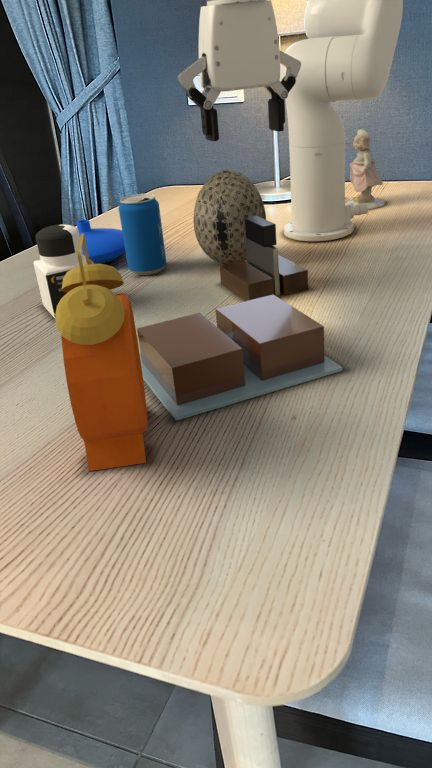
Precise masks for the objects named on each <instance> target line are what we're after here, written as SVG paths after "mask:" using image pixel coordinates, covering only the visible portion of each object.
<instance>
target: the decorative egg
mask: <svg viewBox="0 0 432 768" xmlns="http://www.w3.org/2000/svg"><path fill="white" fill-rule="evenodd" d="M252 216H258V217H261V218H263V219H265V220H267V213H266V209H265V204H264V201H263V198H262V196H261V194H260V191H259V189H258V188H257V187H256V185H255V184H254V182H252V180H251V179H249V177H247V176H246V175H244V173H241V172H238V171H236V170H232V169H224V170H221V171H218V172H216V173H215V174H212V176H210V177H209V178H208V179H207V180H206V181H205V183H203V185H202V187H201V188H200V190H199V191H198V194H197V196H196V199H195V203H194V207H193V230H194V234H195V237H196V240H197V243H198V244H199V246H200V248H201V250H202V251H203V252H204V254H205V255H206V256H207V257H208V258H210V259H211V260H213V261H215V262H216V263H219V264H221V265H226V264H230V263H234V262H239V261H245V262H247V254H246V240H245V235H246V231H245V218H247V217H252Z"/></svg>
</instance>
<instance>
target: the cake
mask: <svg viewBox="0 0 432 768" xmlns="http://www.w3.org/2000/svg"><path fill="white" fill-rule="evenodd" d="M214 310H215V320H216V325H215V324H213V322H212V321H210V320H209V319H208V318H207V317H206V316H205V315H203V314H202V313H201V312H198V313H193V314H189V315H186V316H181V317H177V318H172V319H169V320H165V321H161V322H156V323H153V324H148V325H145V326H141V327H137V328H136V334H137V340H138V346H139V353H140V360H141V367H142V374H143V382H144V383H145V384H146V385H147V386H148V387H149V389H150V390H151V391H152V392H153V394H154V395H155V396H156V398H157V399H158V400H159V402H160V403H161V404H162V405H163V407H164V408H165V409H166V411H167V412H168V413H169V414H170V416H171V417H172V418H173V420H174V421H175V422H177V421H181V420H184V419H188V418H190V417H195V416H198V415H200V414H203V413H207V412H210V411H214V410H217V409H220V408H223V407H227V406H230V405H234V404H236V403H241V402H244V401H246V400H250V399H254V398H256V397H260V396H264V395H266V394H267V395H268V394H270V393H273V392H276V391H279V390H283V389H287V388H290V387H293V386H296V385H300V384H303V383H307V382H309V381H313V380H316V379H320V378H324V377H326V376H327V377H328V376H330V375H333V374H336V373H341V372H342V371H343V366H341V365H340V364H339V363H337V362H335V361H334V360H333V359H331V358H330V357H328V356H327V355H326V354H325V326H324V325H323V324H321V323H320V322H318V321H317V320H315V319H313V318H312V317H310V316H308V315H307V314H306V313H303V312H302V311H300V310H299V309H298V308H296V307H294V306H292V305H291V304H290V303H288V302H286V301H285V300H283V299H281V298H280V297H279V296H275V295H269V296H265V297H261V298H257V299H253V300H249V301H242V302H237V303H234V304H229V305H226V306H221V307H217V308H215V309H214Z"/></svg>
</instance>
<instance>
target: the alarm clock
mask: <svg viewBox="0 0 432 768" xmlns="http://www.w3.org/2000/svg"><path fill="white" fill-rule="evenodd" d="M82 242H83V248H84V253H85V258H86V262H87V265H83V263H82V257H81V248H82ZM77 255H78V261H79V266H78V267H76V268H74V269H72V270H70V271H68V272H67V273H66V275H65V276H64V278H63V283H62V291H64V292H66V293H67V294H66V295H65V296H63V297H62V298H61V300H60V302H59V303H58V305H57V309H56V318H54V321H55V325H56V329H57V331H58V332H59V333H60V339H61V349H62V358H63V366H64V373H65V374H64V375H65V379H66V386H67V390H68V396H69V401H70V407H71V411H72V415H73V419H74V422H75V426H76V428H77V431H78V433H79V436H80V438H81V440H82V441H83V443H84V449H85V455H86V462H87V468H88V472H93V471H99V470H100V471H101V470H107V469H112V468H119V467H120V468H121V467H128V466H133V465H134V466H135V465H140V464H146V463H147V457H146V456H147V455H146V447H145V439H144V432H146V431H147V428H148V409H147V408H148V407H147V400H146V399H147V398H146V390H145V381H144V379H143V374H142V367H141V360H140V356H141V352H140V346H139V339H138V333H137V328H136V322H135V317H134V312H133V311H134V310H133V306H132V304H131V302H132V301H131V300H130V298H129V297H128V295H127V293H123V292H120V293H119V292H118V293H115V292H114V291H113V290H115V289H117V288H120V287H122V286H124V284H125V282H124V278H123V276H122V274H121V272H120V271H119V270H117V268H116V267H114V266H113V265H108V264H105V263H102V264H92V260H89V257H88V251H87V246H86V241H85V236H84V234H80V240H79V245H78V251H77Z"/></svg>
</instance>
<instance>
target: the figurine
mask: <svg viewBox="0 0 432 768" xmlns="http://www.w3.org/2000/svg"><path fill="white" fill-rule="evenodd" d="M370 137H371V136H370V135H369V133H368V132H367V131H366V130H365V129H361V128H360V129H358V130H357V133H356V136H355V137H354V140H353V144H352V148H353V149H355V150H359V151H358V152H357V153H356V157H355V158H354V160H353V161H352V162H350V163H349V167H350V168H349V169H350V175H349V179H350V183H351V184H352V186H353V189H354V191H355V192H357V193H360V194H358V195H357V196H352V197H351V200H348V201H345V203H347V204H353V205H354V206H356V205H359V204H363V203H366V204H367V205H368V210H372V209H373V210H374V209H377V208H381V207H384V206H385V205H386V203H385V200H383V199H381V198H378V197H375V196H374V195H372V188H374V187H375V186H384V184H383V180H382V179H381V176H380V174H379V171H378V169H377V166H376V160H375V159H374V158H373V153H372V150H371V147H370V143H371V138H370Z"/></svg>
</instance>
